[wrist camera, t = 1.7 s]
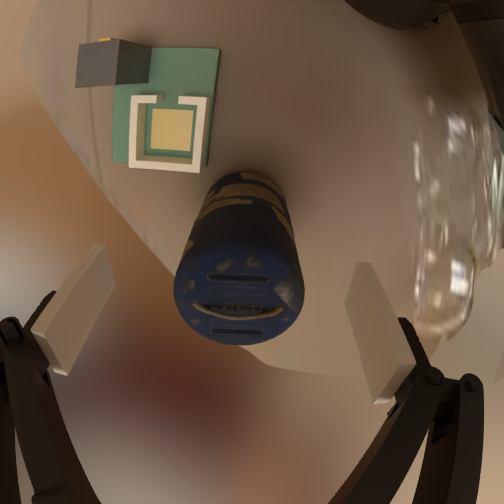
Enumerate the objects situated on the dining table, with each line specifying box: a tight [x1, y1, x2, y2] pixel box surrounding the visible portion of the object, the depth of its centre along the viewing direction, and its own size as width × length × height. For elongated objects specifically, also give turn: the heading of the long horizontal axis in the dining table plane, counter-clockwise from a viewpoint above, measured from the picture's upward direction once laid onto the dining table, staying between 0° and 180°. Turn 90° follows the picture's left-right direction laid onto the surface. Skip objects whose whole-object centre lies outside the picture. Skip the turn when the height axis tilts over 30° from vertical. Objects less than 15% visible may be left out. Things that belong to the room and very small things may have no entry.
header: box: [129, 94, 211, 173], centre depth 28 cm, size 8×8×2 cm
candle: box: [174, 172, 305, 345], centre depth 27 cm, size 10×10×18 cm
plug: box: [75, 38, 152, 88], centre depth 21 cm, size 4×4×8 cm
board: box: [112, 48, 221, 168], centre depth 28 cm, size 13×11×1 cm
